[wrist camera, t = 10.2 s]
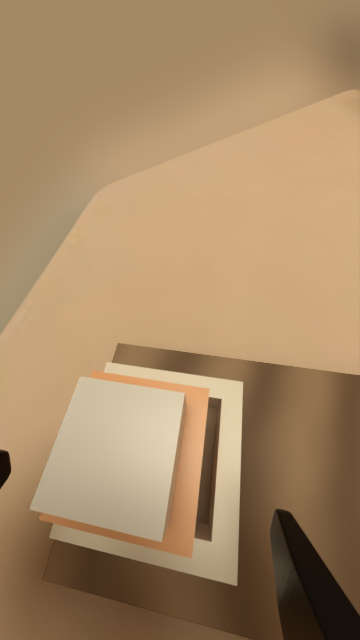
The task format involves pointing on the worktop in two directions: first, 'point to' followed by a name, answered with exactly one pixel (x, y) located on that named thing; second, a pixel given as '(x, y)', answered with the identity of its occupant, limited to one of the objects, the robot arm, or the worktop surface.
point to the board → (250, 496)
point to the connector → (128, 462)
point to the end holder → (223, 525)
